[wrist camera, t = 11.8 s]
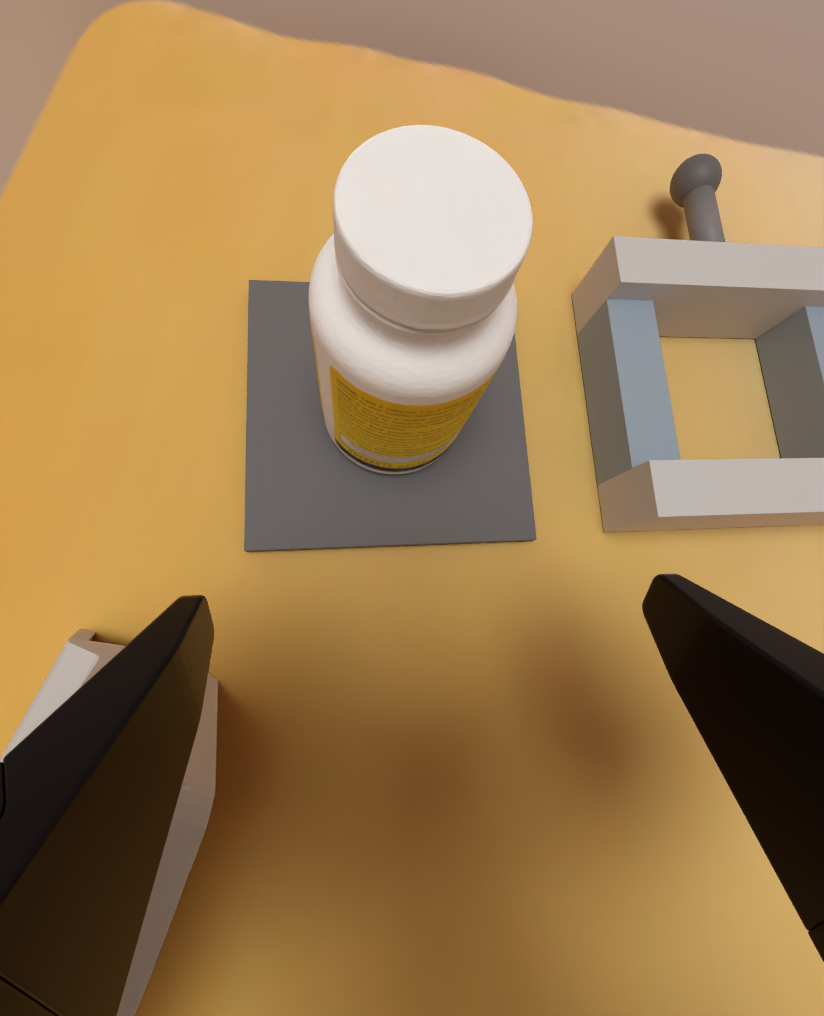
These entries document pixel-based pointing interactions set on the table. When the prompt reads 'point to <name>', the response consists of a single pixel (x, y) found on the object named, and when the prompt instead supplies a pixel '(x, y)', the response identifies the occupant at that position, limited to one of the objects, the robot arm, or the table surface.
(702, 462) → the vise
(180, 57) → the table surface
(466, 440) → the pad
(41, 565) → the table surface
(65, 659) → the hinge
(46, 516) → the table surface
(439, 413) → the supplement bottle
